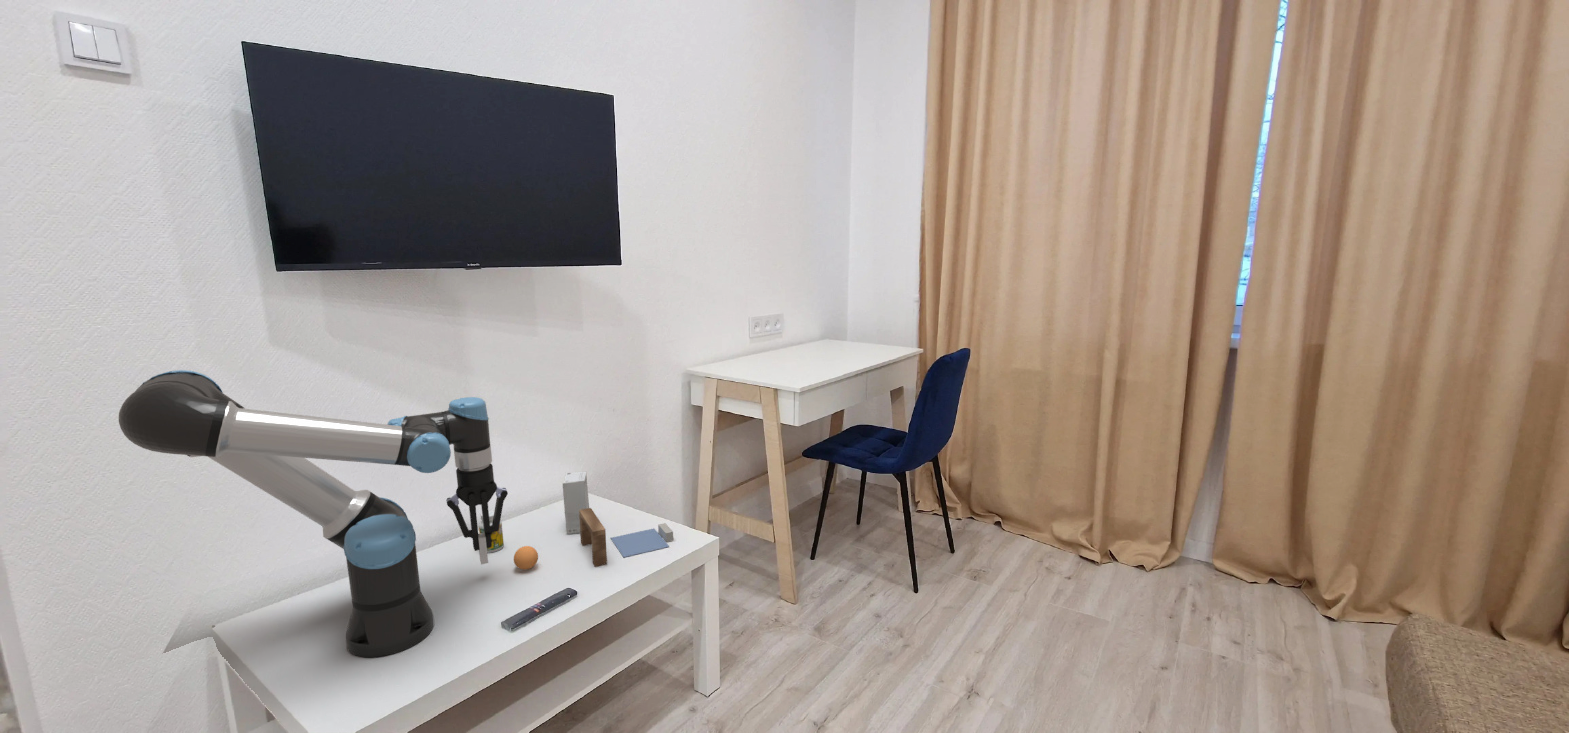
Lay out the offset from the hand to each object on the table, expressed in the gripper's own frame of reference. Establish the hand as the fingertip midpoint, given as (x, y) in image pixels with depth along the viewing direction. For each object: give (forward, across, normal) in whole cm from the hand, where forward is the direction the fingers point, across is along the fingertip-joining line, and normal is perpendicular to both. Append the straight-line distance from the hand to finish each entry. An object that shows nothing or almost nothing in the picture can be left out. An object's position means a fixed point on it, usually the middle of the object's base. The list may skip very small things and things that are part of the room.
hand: (484, 561), depth 154 cm
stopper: (+5, -44, 0) cm, 45 cm away
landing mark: (+5, -37, 0) cm, 37 cm away
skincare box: (+5, -25, -17) cm, 31 cm away
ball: (+2, -9, 0) cm, 9 cm away
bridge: (+5, -25, 0) cm, 26 cm away
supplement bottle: (+5, -3, -15) cm, 16 cm away
